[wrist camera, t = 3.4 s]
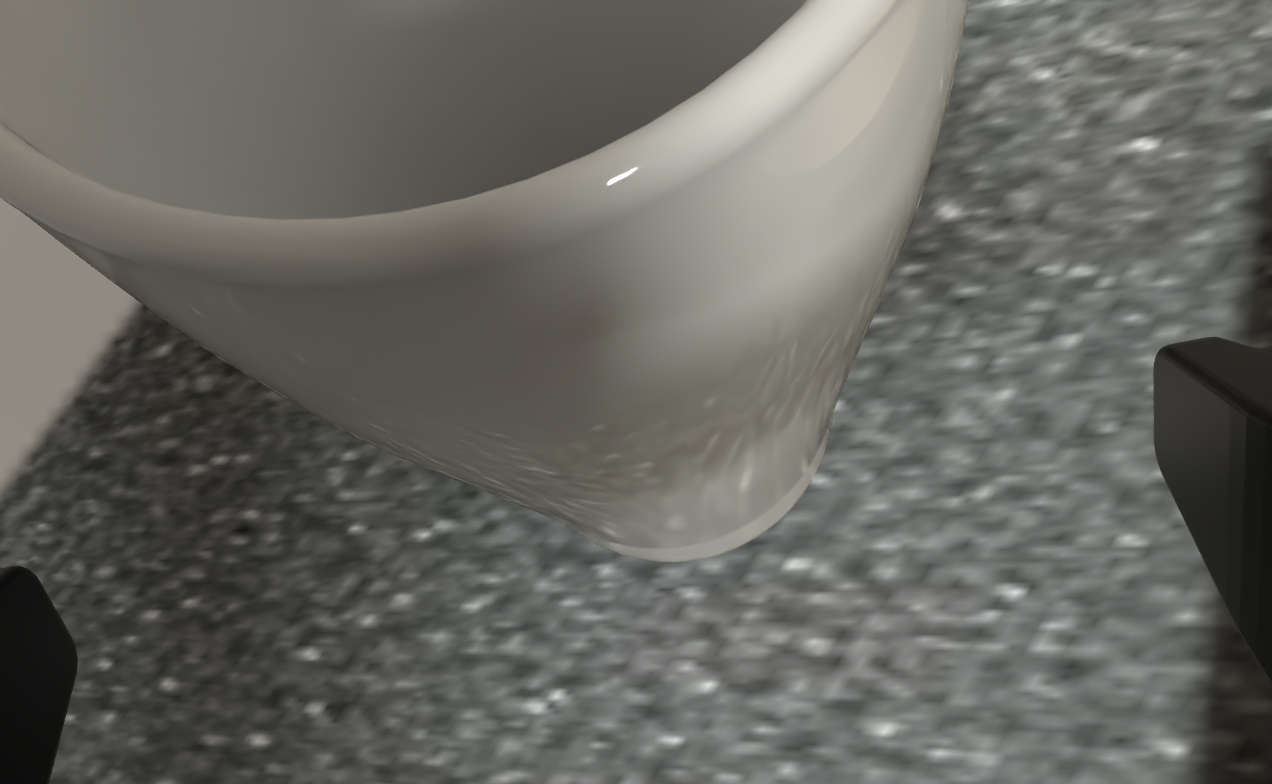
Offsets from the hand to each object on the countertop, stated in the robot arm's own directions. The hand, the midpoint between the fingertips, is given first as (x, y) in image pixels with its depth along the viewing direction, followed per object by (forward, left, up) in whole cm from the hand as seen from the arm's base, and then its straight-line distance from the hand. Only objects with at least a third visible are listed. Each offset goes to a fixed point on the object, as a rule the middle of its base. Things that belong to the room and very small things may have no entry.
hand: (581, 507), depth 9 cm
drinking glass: (+3, +1, -11) cm, 12 cm away
